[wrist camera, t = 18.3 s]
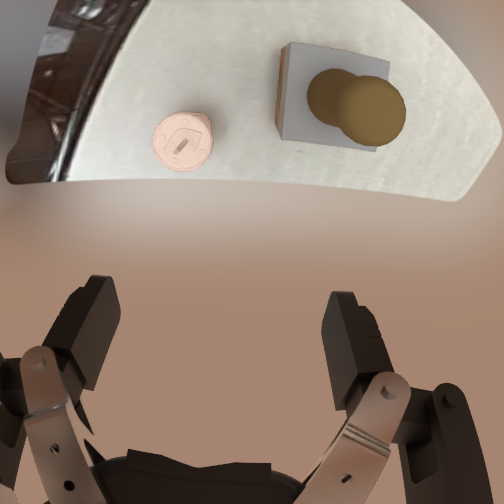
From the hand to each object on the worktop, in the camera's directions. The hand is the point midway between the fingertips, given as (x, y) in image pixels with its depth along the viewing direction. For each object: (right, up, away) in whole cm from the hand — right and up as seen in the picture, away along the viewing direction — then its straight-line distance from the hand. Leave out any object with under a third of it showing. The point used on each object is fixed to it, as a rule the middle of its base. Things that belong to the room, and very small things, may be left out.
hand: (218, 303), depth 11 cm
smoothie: (-6, +18, +27) cm, 33 cm away
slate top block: (+9, +19, +20) cm, 29 cm away
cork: (+9, +17, +16) cm, 25 cm away
